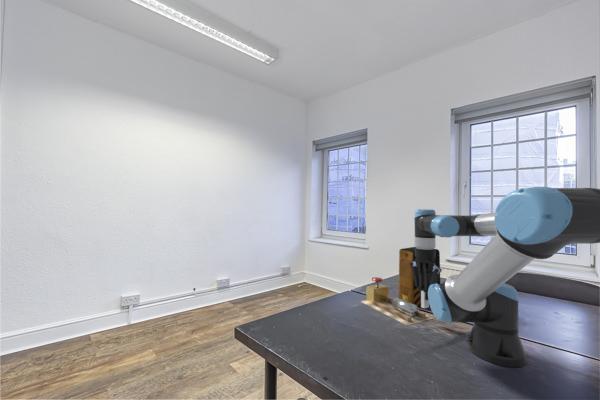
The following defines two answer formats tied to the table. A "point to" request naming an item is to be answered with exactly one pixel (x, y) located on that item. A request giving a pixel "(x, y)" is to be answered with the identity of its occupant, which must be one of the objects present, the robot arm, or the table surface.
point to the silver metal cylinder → (405, 307)
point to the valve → (377, 291)
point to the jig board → (413, 319)
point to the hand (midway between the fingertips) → (425, 307)
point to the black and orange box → (410, 276)
